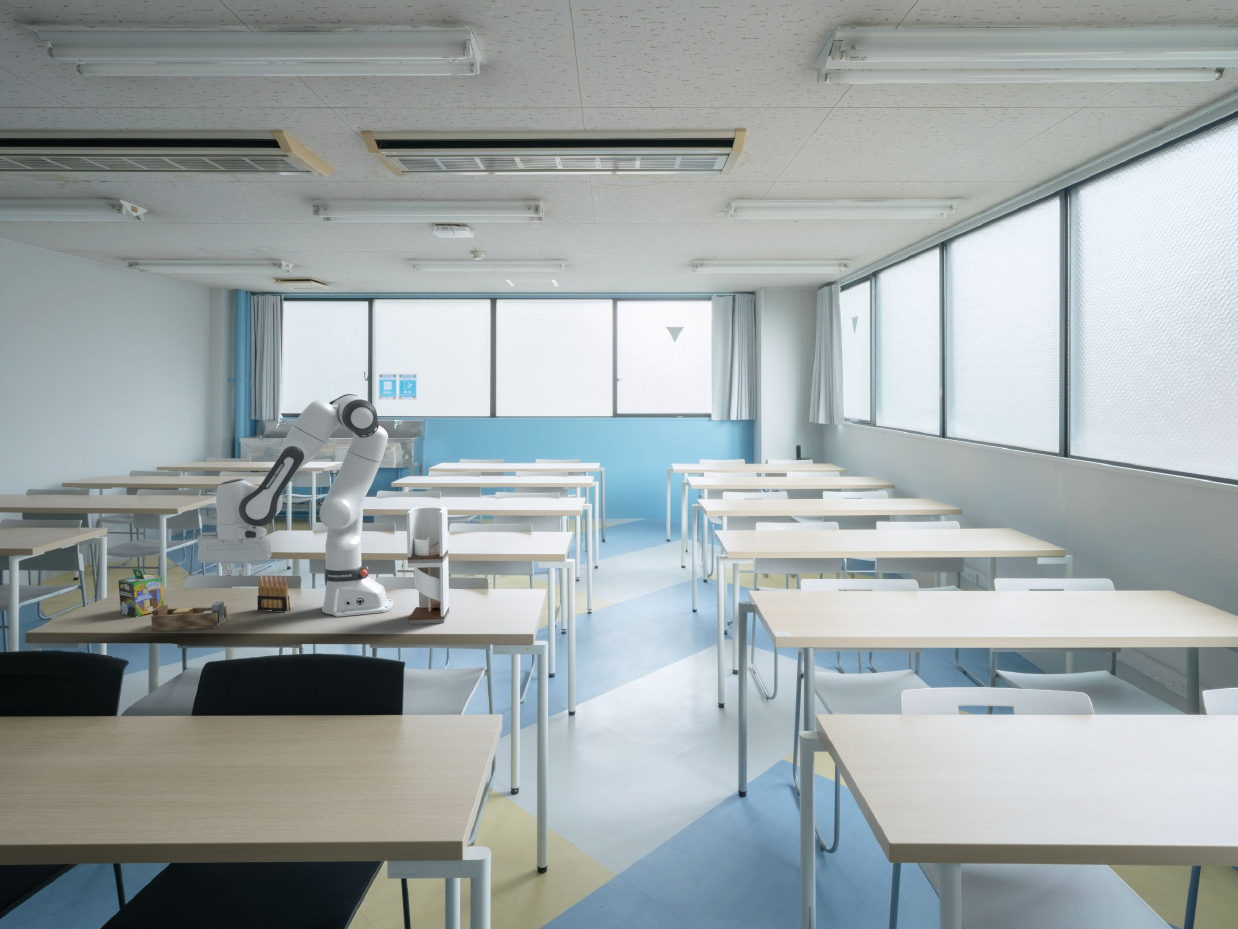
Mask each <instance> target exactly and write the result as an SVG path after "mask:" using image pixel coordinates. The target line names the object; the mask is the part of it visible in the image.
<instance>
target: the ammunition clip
mask: <svg viewBox="0 0 1238 929" xmlns="http://www.w3.org/2000/svg"><path fill="white" fill-rule="evenodd" d="M273 576H274V577H272V575H271V574H270V575H268V576H267V575H266V574H264V577H263V576H262V574H259V576H258V587H257V591H258V592H257V593H258V594H257V611H258V610H272V611H271V612H275V611H287V612H289V610H290V611H291V605H290V603H291V602H290V595H289V587H288V580H287V577H286V575H284V576H283V577H282V576H281V575H278V578H277V576H276V575H273ZM282 578H283V579H282Z"/></svg>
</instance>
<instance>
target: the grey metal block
mask: <svg viewBox="0 0 1238 929" xmlns="http://www.w3.org/2000/svg"><path fill="white" fill-rule="evenodd" d="M224 606H225V601H216V602H215V603H214V604H212V605H211V607H212V610H211V611H205V612H203V613H218V623H220V622H221V621H222V620H224V619H225V616H224Z"/></svg>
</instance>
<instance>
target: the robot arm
mask: <svg viewBox="0 0 1238 929" xmlns="http://www.w3.org/2000/svg"><path fill="white" fill-rule="evenodd" d="M342 427H344V428H345V429H348V430H349V431H350V432H352V439H351V443H350V445H349V447H348V449H347V451H346V455H345V456H344V459H343V461H342V464H341V466H340V468H339V471H338V473H337V475H336V477H335V478H334V480H333V482H332V484H331V486H330V488H329V490H328V492H327V494H326V496H325V498H324V500H323V502H322V504H321V506H320V508H319V514H318V515H319V519H320V521H321V523H322V525H324V526H325V527H326V528H327V534H326V541H325V544H324V545H325V546H324V547H325V568H324V574H323V575H324V584H325V585H324V586H325V593H324V594H325V595H324V601H323V605H322V608H321V611H322V613H324V614H328V615H333V616H334V617H348V616H357V615H358V616H360V615H368V614H378V613H379V614H380V613H385V612H388V611H390V610H391V609H392V608H393V607H394V600H393V599H392V598H387V591H386V589H385V587H384V586H383V585H382V584H381V583H379V582H377V581H376V580H374V579H373V578H372V577H369V566H364V565H362V534H363V522H364V520H363V519H364V503H363V502H364V500H365V498H366V496H367V494H368V493H369V492H368V491H369V490H370V488H371V487H372V485H373V483H374V480H375V477H376V475H377V473H378V470H379V468H380V466H381V464H382V461H383V459H384V456H385V452H386V449H387V445H388V440H389V434H388V432H387V431H386V429H384V427H382V426H380V425H379V419H378V413H377V410H376V407H375V406H374V405H373V404H372V403H371V402H370V401H369V400H367V399H366V398H365V397H362V396H360V395H357V394H353V393H346V394H343V395H341V396H339V397H337V398H335V399H334V400H331V401H330V402H327V401H324V400H314V401H312V402H310V404H308V405H307V406H306V407H305V409H304V410H302V412H301V413H300V414H299V416H298V417H297V418H296V419H295V421H294V423H293V424H292V426H291V428H289V431H288V432H287V434H286V437H285V439H284V441H283V444H282V446H281V449H280V452H279V454H278V456H277V458H276V460H275V463H274V464H273V466H272V467H271V468H270V470H269V472H268V474H267V475H266V476H265V477H264V479H263V481H262V482H261V483H260V485H259V486H258V485H256V484H254V483H251V482H249V481H248V480H246V479H244V478H235V479H232V480H231V479H230V480H227V481H224V482H221V483H220V484H219V485H218V486H217V489H216V496H215V497H216V500H215V504H216V506H215V507H216V512H217V520H216V531H213V532H206V531H204V532H202V533H201V534H199V535H198V536H197V545H198V548H197V549H198V550H197V561H198V562H199V563H201V564H208V563H211V564H212V563H213V564H214V563H220V566H221V567H222V569H223V570H224V571H225V572H224V574H225V577H232V576H233V575H234V574H233V569H230V567H229V566H228V565H229V564H230V563H236V562H237V563H238V562H239V563H240V562H241V565H242V566H243V567H242V568H240V569H239V570H238V577H244V576H246V575H247V574H246V573H247V572H246V570H247V568H248V566H249V564H250V562H265V561H268V560H269V559H270V558H271V557H272V549H271V548H272V547H271V542H270V539H269V538H268V537H267V536H266V535H267V533H268V531H267V528H265V527H263V526H266V525H268V524H269V523H271V522H272V521H273V519H274V518H275V517H276V516H278V514H280V512H281V511H282V508H283V506H284V502H283V498H282V494H283V492H284V491H285V490H286V488H287V486H288V485H289V483H290V482H291V480H292V478H293V477H294V476H295V475H296V474H297V473H298V472H299V470H301V469H302V468H303V467H304V466H306V464H308V463H309V462H311V461H312V460H313V459H315V457H317V456H318V454H319V453H320V452H321V451H322V449H323V448H324V447H325V446H326V444H327V443H328V441H329V439H330V437H331V435H332V434H333V433H334V432H335V431H336V430H338V429H339V428H342Z"/></svg>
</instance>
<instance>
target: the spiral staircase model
mask: <svg viewBox="0 0 1238 929" xmlns="http://www.w3.org/2000/svg"><path fill="white" fill-rule="evenodd" d="M448 514H449V513H448V506H441V507H440V506H437V507H434V506H431V507H430V506H429V507H428V506H427V507H424V506H423V507H422V506H421V507H413V508H411V509H410V510H408V511H407V512H406V544H407V545H406V546H407V548H406V550H407V568H408V569H409V568H413V569H414V586H415V589H416V590H417V591H418V606H415V608H414V609H413V611H412V612H411V613H410V615H409V617H408V624H409V625H416V624H418V625H419V624H445V622H446V620H445V619H447V618H446V617H448V616H447V615H449V614H448V613H450V586H449V584H450V582H449V581H450V580H449V579H450V578H449V573H450V572H449V525H448V524H449V522H448Z"/></svg>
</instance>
